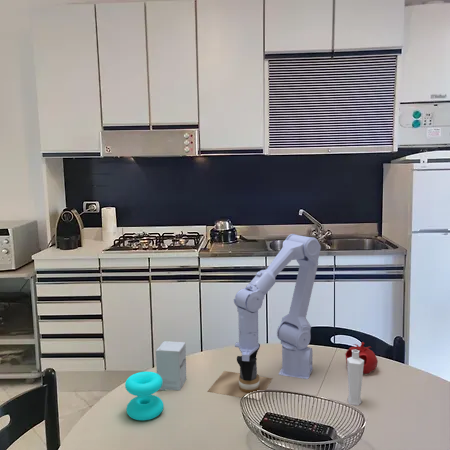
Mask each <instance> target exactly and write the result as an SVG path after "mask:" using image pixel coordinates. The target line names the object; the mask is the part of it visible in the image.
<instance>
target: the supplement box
mask: <svg viewBox="0 0 450 450" xmlns="http://www.w3.org/2000/svg"><path fill="white" fill-rule="evenodd" d="M186 348H187V347H186V342H185V341H169V340H168V341H165V340H164V341H162V342H161V344H160V345H159V346H158V347H157V349H156V350H155V363H156V365H155V366H156V373H157V374H159V375H160V376H161V378H162V381H163V383H162V386H161V388H160V389H159V390H158V391H166V390H169V391H171V390H172V391H181V390H182V387H183V386H184V384H185V382H186V381H187V350H186Z"/></svg>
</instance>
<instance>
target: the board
mask: <svg viewBox="0 0 450 450" xmlns="http://www.w3.org/2000/svg"><path fill="white" fill-rule="evenodd" d="M239 375H240V372H235V371H228V370H227V371H226V370H224V371H223V372H222V373H221V374H220V375H219V377H218V378H217V379H216V380H215V381H214V383H212V385H211V386H210V388H208V390H207V393H213V394H219V395H225V396H230V397H236V398H242V397H243V396H244V395H245V394H247V393H245V392H242V391H241V390H240V389H239ZM272 380H273V377H266V376H260V375H259V390H266V391H267V389H268V387H269V386H270V383H271V382H272ZM242 399H243V398H242Z"/></svg>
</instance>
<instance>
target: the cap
mask: <svg viewBox="0 0 450 450" xmlns="http://www.w3.org/2000/svg"><path fill="white" fill-rule="evenodd" d="M257 366H258V365H257V361H256V363H255V364H254V367H253V373H252V378H251V381H252V380H255V379H256V378H257V374H258V367H257ZM239 373H240V378H241V379H243V376H242V371H241V368H240V367H239ZM243 380H244V379H243ZM245 381H246V380H245Z"/></svg>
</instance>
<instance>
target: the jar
mask: <svg viewBox="0 0 450 450" xmlns="http://www.w3.org/2000/svg"><path fill="white" fill-rule="evenodd" d="M259 376H260V375H259V374H258V373H257V378H256V379H255V380H252V381H245V380H243V379H241V378H240V375H239V389H240V390H241V391H242V392H245V393H250V392H253V391H257V390H259Z"/></svg>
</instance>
